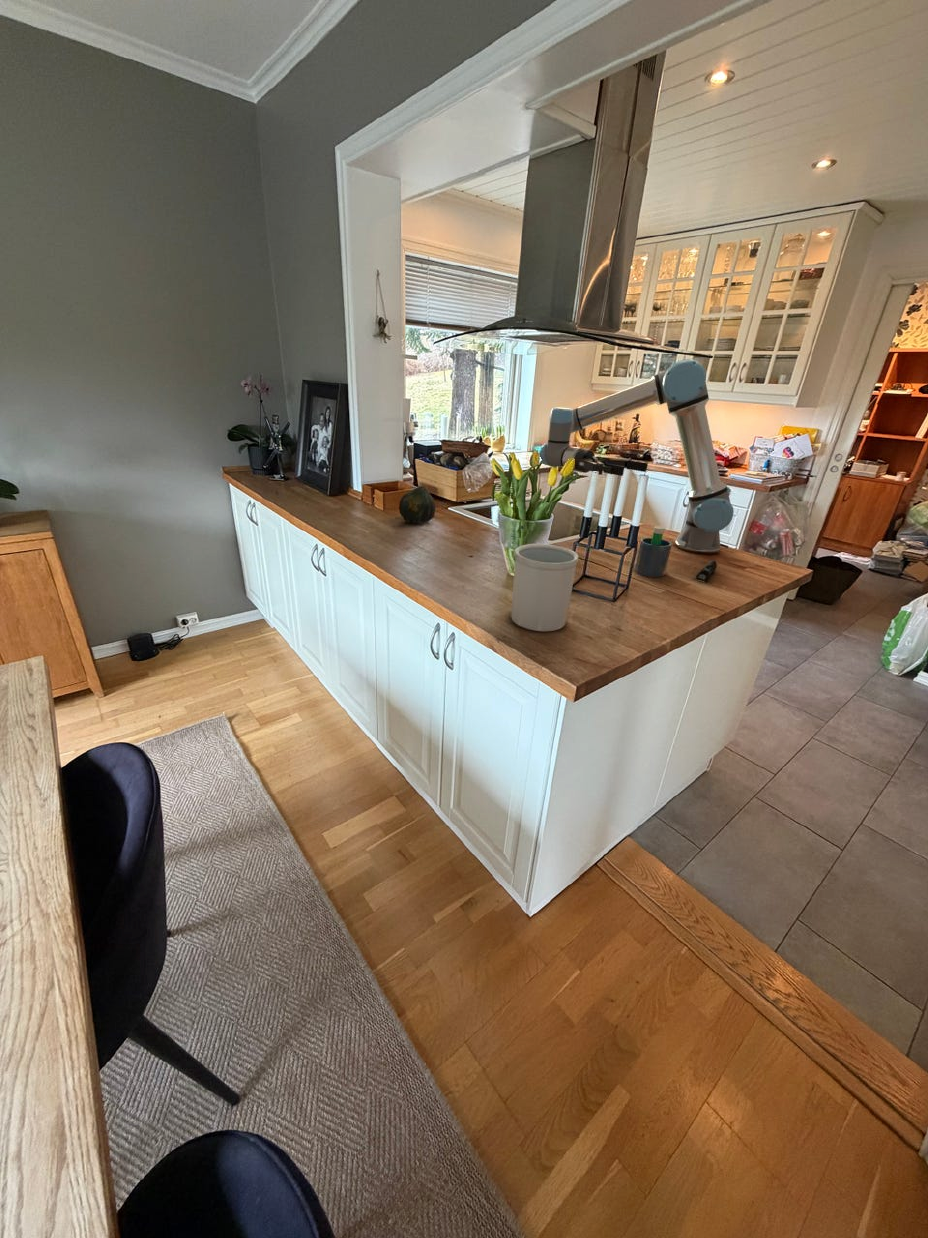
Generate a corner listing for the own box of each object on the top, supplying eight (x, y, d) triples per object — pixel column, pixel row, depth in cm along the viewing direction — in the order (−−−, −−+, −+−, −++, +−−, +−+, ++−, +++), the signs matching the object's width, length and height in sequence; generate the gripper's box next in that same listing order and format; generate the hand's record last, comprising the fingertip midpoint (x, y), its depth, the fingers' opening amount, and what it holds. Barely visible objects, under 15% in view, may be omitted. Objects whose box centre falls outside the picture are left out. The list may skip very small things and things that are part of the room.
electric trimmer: (718, 570, 159) (721, 561, 158) (707, 582, 148) (710, 573, 147) (706, 567, 161) (709, 558, 160) (694, 579, 150) (697, 570, 149)
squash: (386, 509, 193) (410, 482, 186) (402, 503, 206) (424, 478, 199) (411, 535, 194) (435, 510, 187) (425, 527, 207) (448, 504, 200)
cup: (663, 569, 158) (670, 539, 153) (665, 578, 150) (672, 547, 146) (635, 565, 160) (641, 536, 156) (634, 574, 152) (641, 544, 148)
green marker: (654, 569, 156) (664, 526, 150) (654, 572, 153) (664, 529, 147) (645, 568, 157) (654, 525, 150) (645, 571, 154) (654, 528, 148)
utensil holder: (526, 601, 131) (532, 539, 123) (578, 617, 123) (588, 551, 115) (498, 621, 120) (503, 553, 112) (553, 639, 112) (562, 568, 104)
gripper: (598, 468, 174) (653, 477, 160) (554, 474, 159) (610, 485, 145) (602, 446, 171) (657, 454, 157) (557, 450, 156) (614, 459, 142)
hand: (635, 469), depth 151 cm, fingers open, 13 cm apart
